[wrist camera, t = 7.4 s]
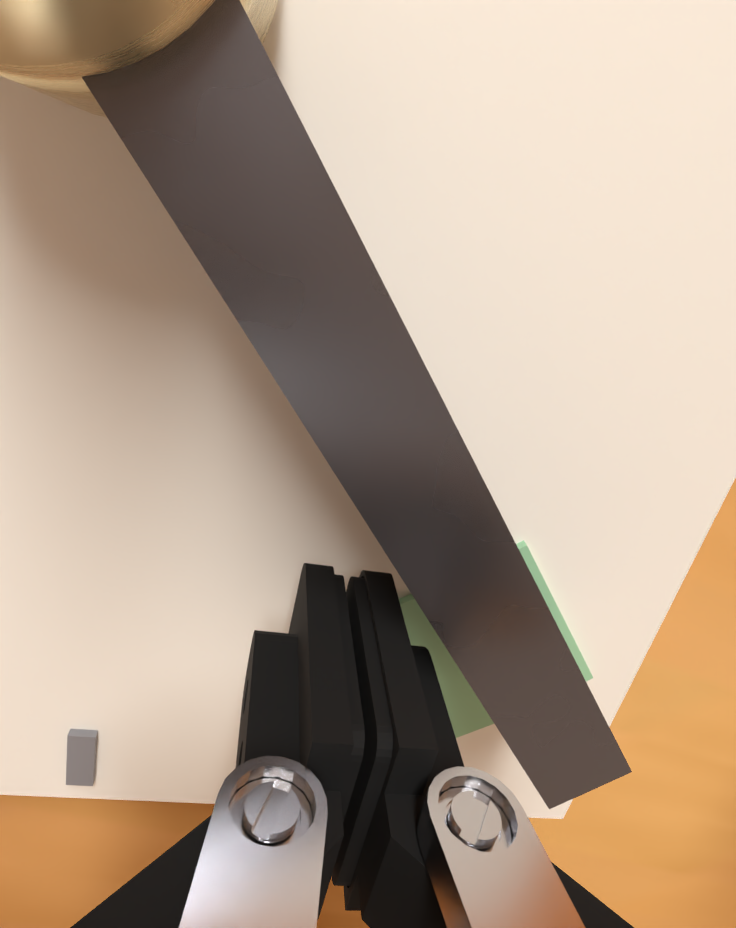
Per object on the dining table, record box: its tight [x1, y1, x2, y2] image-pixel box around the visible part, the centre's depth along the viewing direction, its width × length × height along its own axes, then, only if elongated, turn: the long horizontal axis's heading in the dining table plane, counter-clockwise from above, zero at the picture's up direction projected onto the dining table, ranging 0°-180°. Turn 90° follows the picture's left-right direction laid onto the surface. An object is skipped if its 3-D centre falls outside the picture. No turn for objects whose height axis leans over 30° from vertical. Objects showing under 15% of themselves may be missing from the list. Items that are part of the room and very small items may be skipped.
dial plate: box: [0, 0, 736, 819], centre depth 11 cm, size 23×20×2 cm
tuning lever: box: [0, 0, 632, 809], centre depth 8 cm, size 17×4×6 cm, turn 29°
